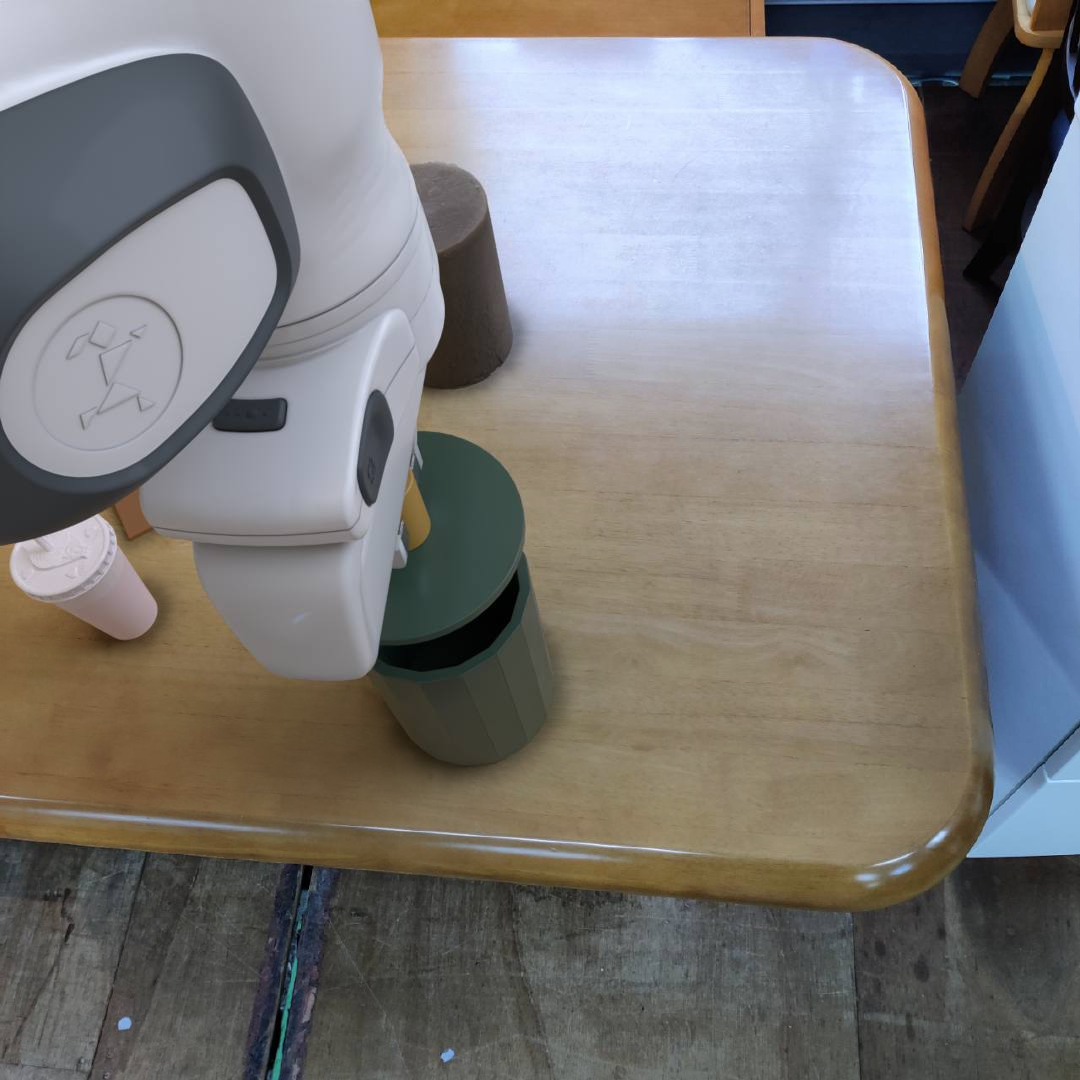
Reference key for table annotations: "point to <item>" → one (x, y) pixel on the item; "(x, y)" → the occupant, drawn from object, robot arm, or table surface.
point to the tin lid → (453, 540)
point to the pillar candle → (464, 277)
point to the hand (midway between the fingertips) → (397, 516)
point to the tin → (474, 681)
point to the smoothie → (86, 578)
